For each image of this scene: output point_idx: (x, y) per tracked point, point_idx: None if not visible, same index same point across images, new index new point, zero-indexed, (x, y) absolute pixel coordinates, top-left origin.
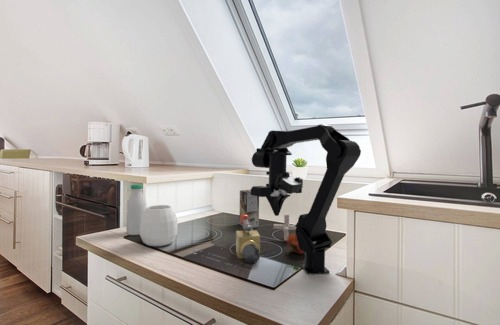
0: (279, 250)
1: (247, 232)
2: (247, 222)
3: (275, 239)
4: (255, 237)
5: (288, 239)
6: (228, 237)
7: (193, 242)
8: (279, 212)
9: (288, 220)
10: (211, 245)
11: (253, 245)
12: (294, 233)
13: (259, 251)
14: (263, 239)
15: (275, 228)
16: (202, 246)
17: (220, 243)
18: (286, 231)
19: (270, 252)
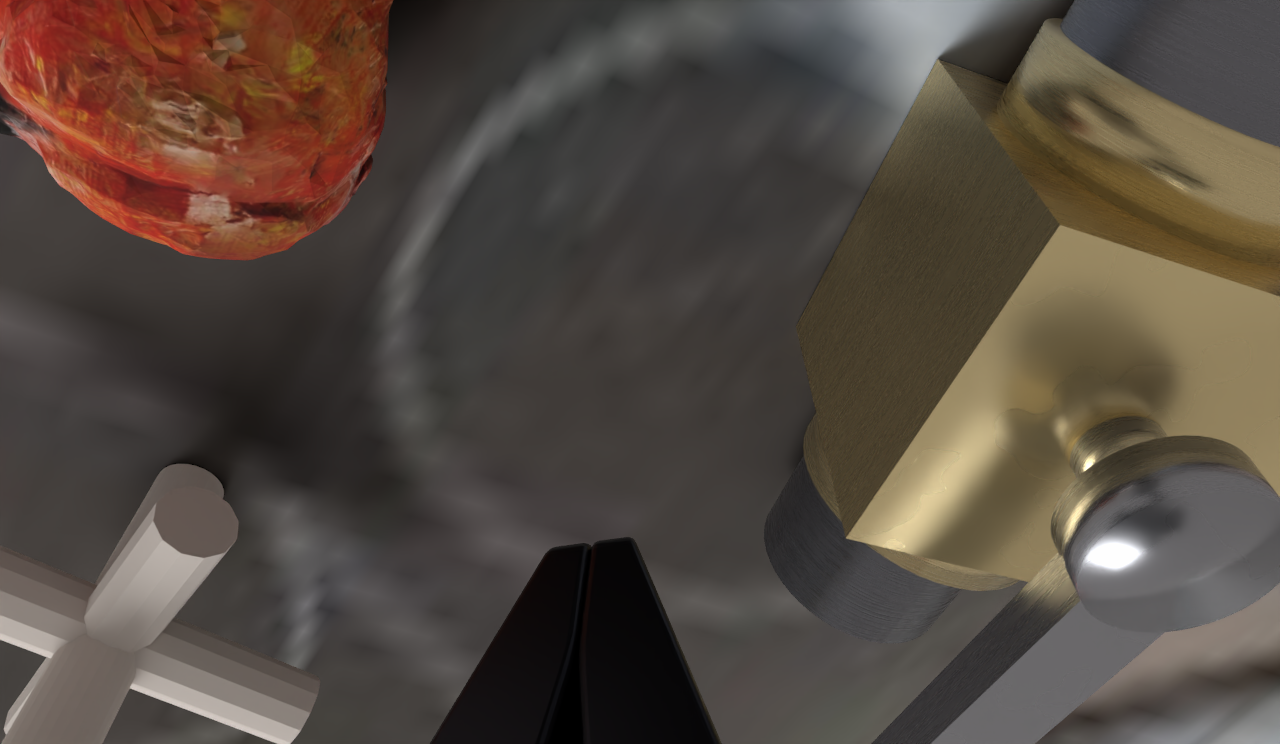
0: (480, 197)
1: None
2: (987, 720)
3: (328, 546)
4: (1139, 239)
5: (370, 88)
6: (812, 732)
7: (1210, 724)
8: (511, 623)
9: (27, 720)
10: None
11: (1252, 64)
12: (180, 102)
13: (971, 97)
14: (478, 588)
15: (292, 667)
16: (1230, 623)
17: None
18: (186, 504)
19: (655, 180)
